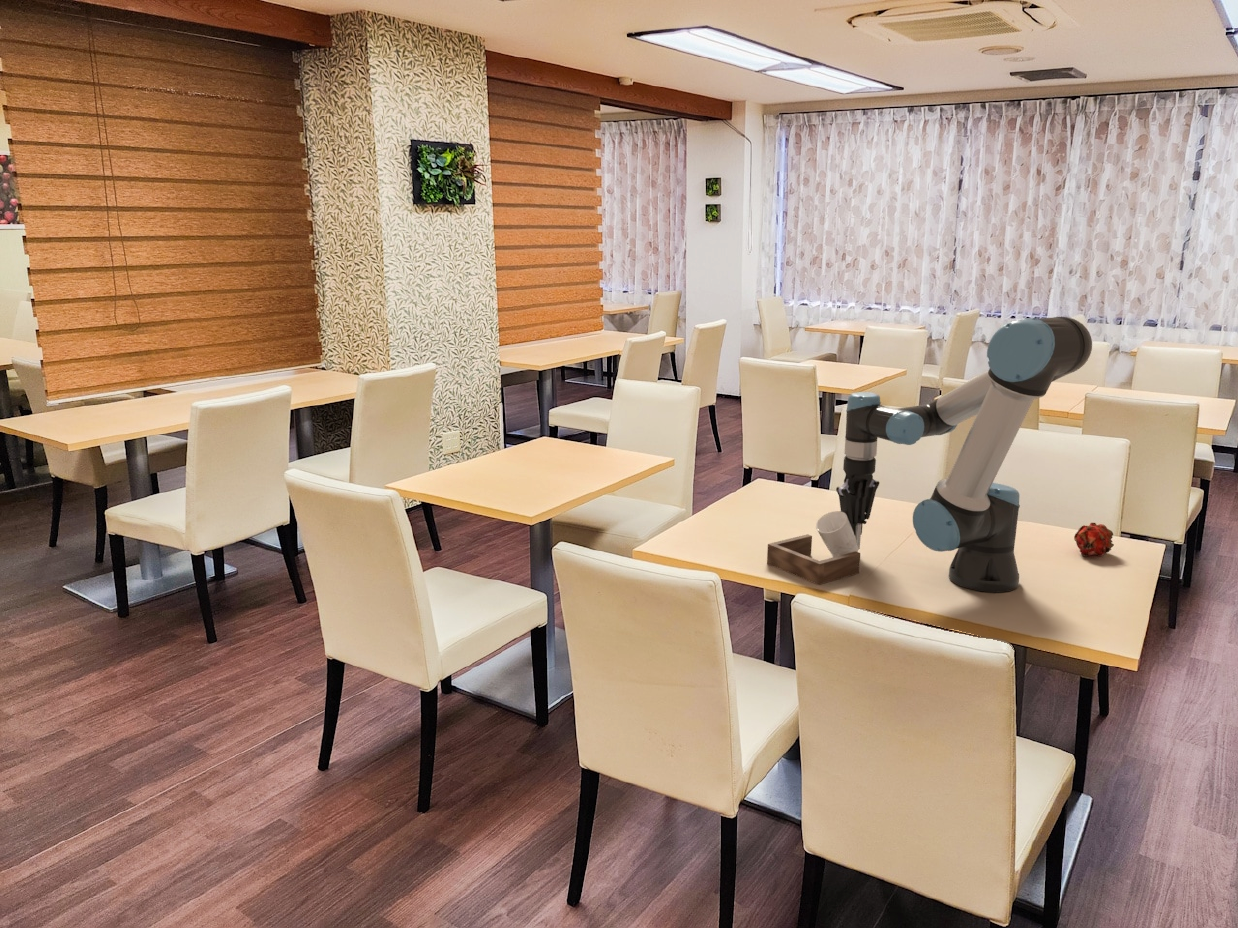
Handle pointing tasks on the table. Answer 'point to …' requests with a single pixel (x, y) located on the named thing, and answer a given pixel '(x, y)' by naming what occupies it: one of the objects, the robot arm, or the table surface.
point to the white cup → (837, 533)
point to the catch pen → (810, 561)
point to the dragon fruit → (1094, 539)
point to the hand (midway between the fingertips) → (853, 547)
